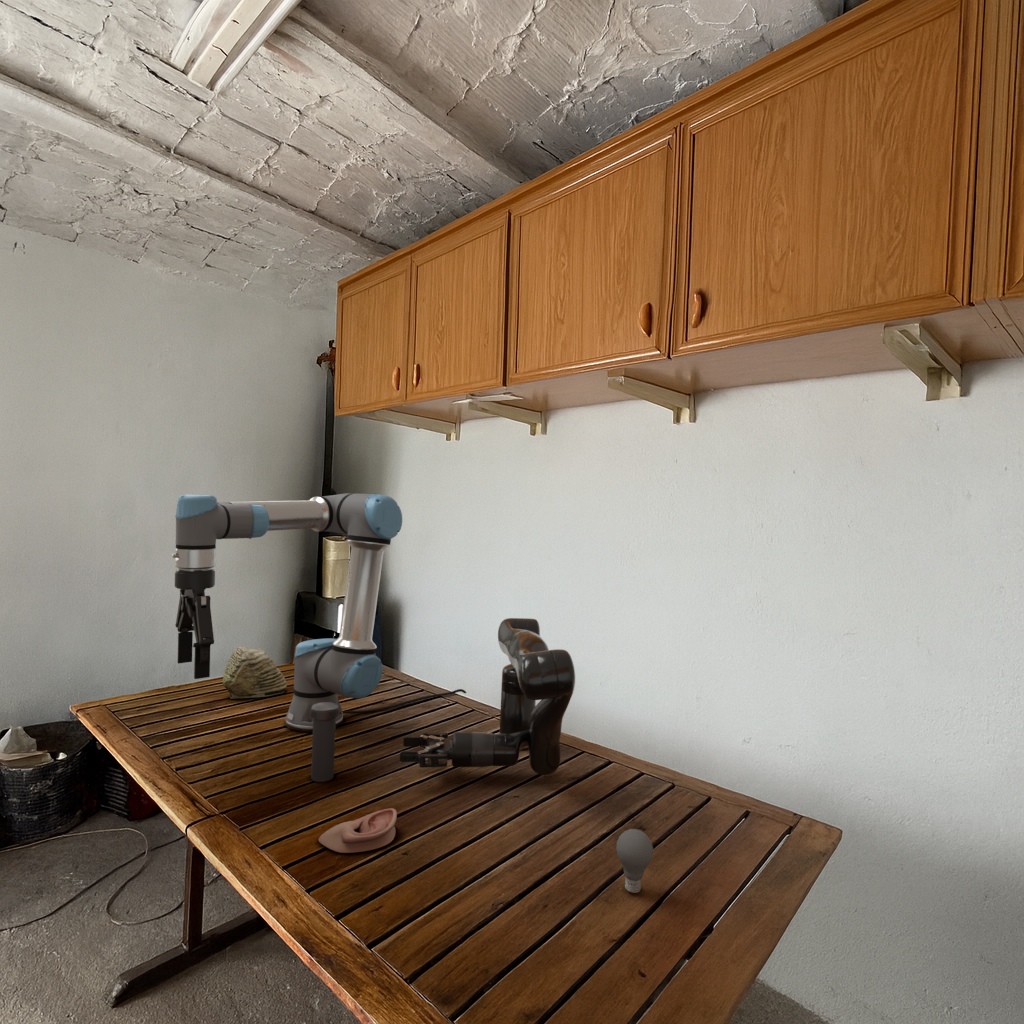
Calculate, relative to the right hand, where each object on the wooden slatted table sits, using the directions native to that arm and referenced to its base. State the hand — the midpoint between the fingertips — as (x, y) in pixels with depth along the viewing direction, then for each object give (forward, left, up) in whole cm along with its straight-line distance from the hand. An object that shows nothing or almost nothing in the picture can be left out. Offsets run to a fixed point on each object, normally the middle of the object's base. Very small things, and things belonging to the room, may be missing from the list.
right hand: (401, 748), depth 144 cm
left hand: (+42, -11, +19) cm, 48 cm away
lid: (+16, -8, +9) cm, 20 cm away
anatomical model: (+16, +21, -7) cm, 27 cm away
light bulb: (-21, +56, -7) cm, 60 cm away
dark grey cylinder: (+16, -8, -7) cm, 19 cm away
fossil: (+22, -74, -7) cm, 78 cm away
